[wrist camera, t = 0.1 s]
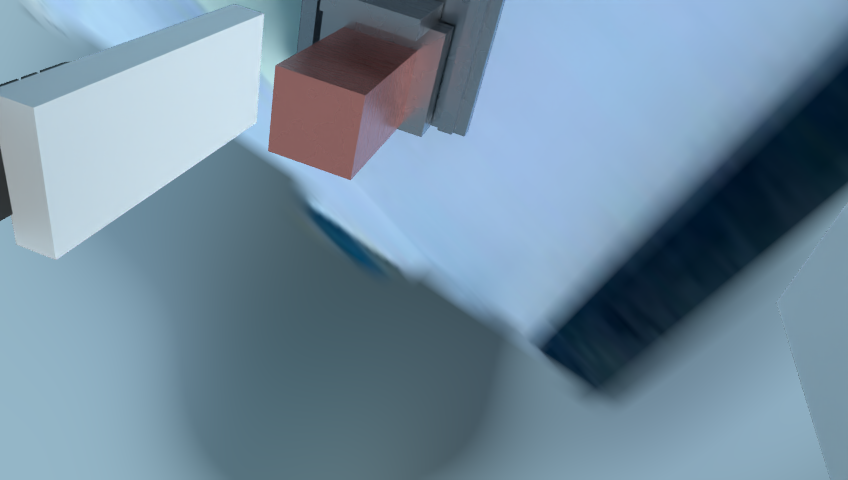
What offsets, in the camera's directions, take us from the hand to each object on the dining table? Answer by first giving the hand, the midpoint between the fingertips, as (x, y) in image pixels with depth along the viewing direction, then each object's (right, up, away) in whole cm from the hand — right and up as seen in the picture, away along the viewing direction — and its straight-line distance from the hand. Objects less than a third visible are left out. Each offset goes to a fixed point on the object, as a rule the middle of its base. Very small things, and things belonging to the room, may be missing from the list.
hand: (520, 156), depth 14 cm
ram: (-5, +11, +28) cm, 30 cm away
